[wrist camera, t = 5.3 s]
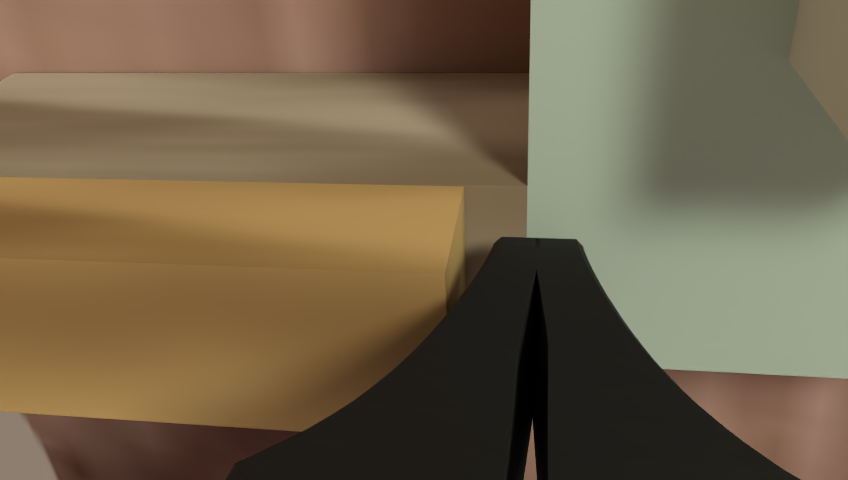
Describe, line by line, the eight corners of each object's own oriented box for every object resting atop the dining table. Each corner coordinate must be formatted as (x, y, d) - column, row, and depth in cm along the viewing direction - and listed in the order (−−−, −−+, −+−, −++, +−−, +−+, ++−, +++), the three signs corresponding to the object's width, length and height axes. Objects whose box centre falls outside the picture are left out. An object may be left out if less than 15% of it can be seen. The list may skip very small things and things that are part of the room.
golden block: (468, 338, 14) (452, 441, 12) (-92, 311, 16) (-193, 398, 14) (464, 186, 13) (444, 274, 10) (-156, 174, 14) (-281, 247, 12)
